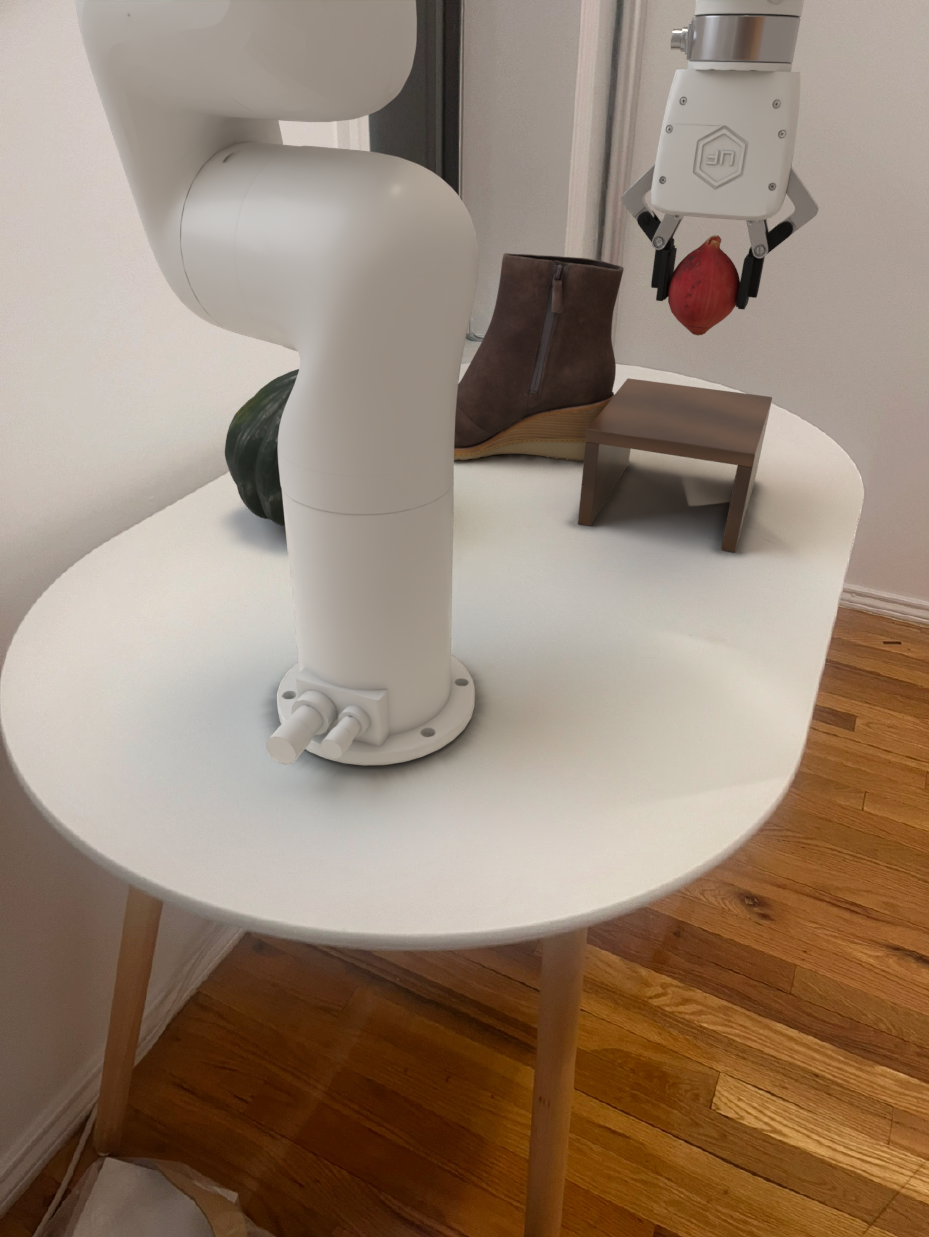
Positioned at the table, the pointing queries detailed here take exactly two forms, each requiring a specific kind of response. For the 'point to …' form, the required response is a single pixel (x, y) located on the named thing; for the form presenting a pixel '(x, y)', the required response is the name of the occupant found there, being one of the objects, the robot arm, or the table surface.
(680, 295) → the onion
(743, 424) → the walnut shelf
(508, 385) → the boot
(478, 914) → the table surface
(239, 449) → the squash
